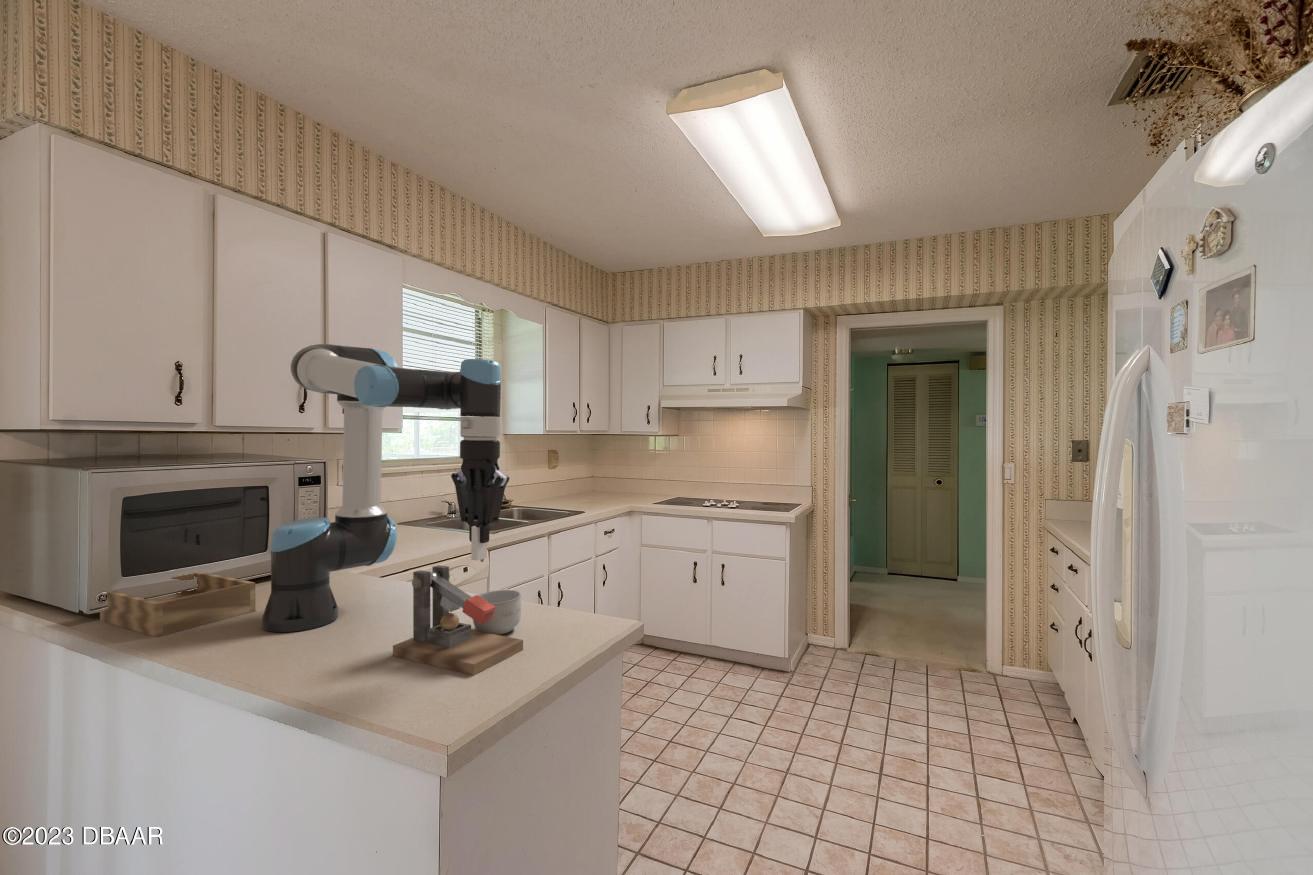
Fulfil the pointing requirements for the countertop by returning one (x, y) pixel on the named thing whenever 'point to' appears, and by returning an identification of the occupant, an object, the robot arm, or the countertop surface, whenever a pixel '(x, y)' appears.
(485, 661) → the press base
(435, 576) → the lever
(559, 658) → the countertop surface
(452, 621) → the walnut
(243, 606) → the open wooden box
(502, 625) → the teacup
